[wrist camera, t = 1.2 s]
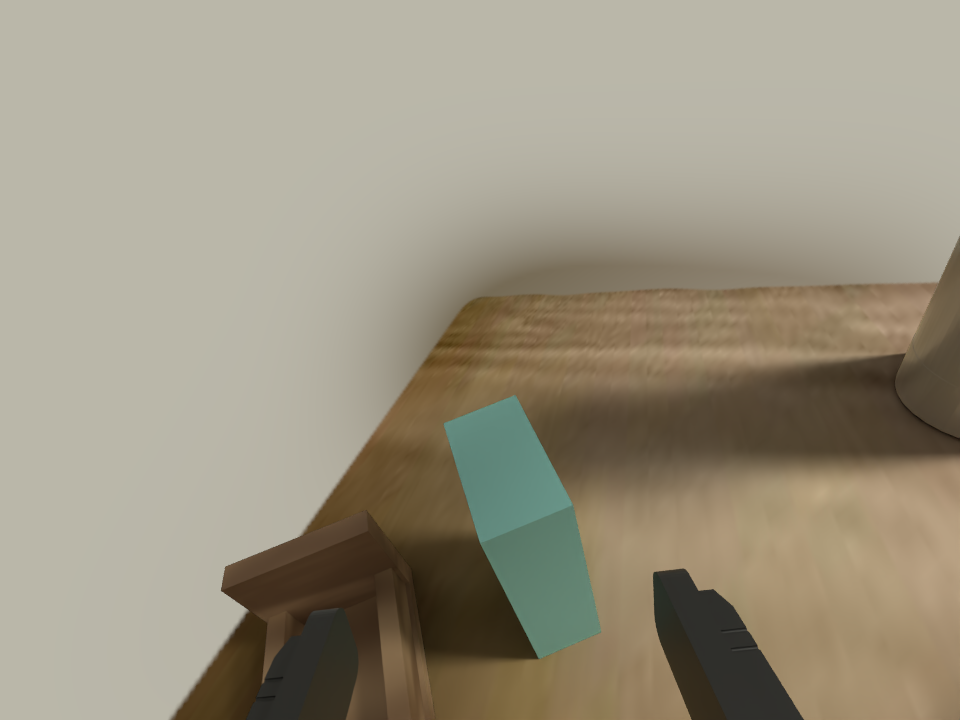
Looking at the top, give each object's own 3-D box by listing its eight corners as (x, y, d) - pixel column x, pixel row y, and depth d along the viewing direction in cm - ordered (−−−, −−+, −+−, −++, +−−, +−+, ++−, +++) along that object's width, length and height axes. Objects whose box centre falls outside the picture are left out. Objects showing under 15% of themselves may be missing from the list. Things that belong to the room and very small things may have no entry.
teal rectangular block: (502, 552, 32) (443, 423, 23) (554, 530, 32) (515, 395, 24) (539, 659, 27) (480, 543, 18) (601, 632, 27) (573, 505, 18)
